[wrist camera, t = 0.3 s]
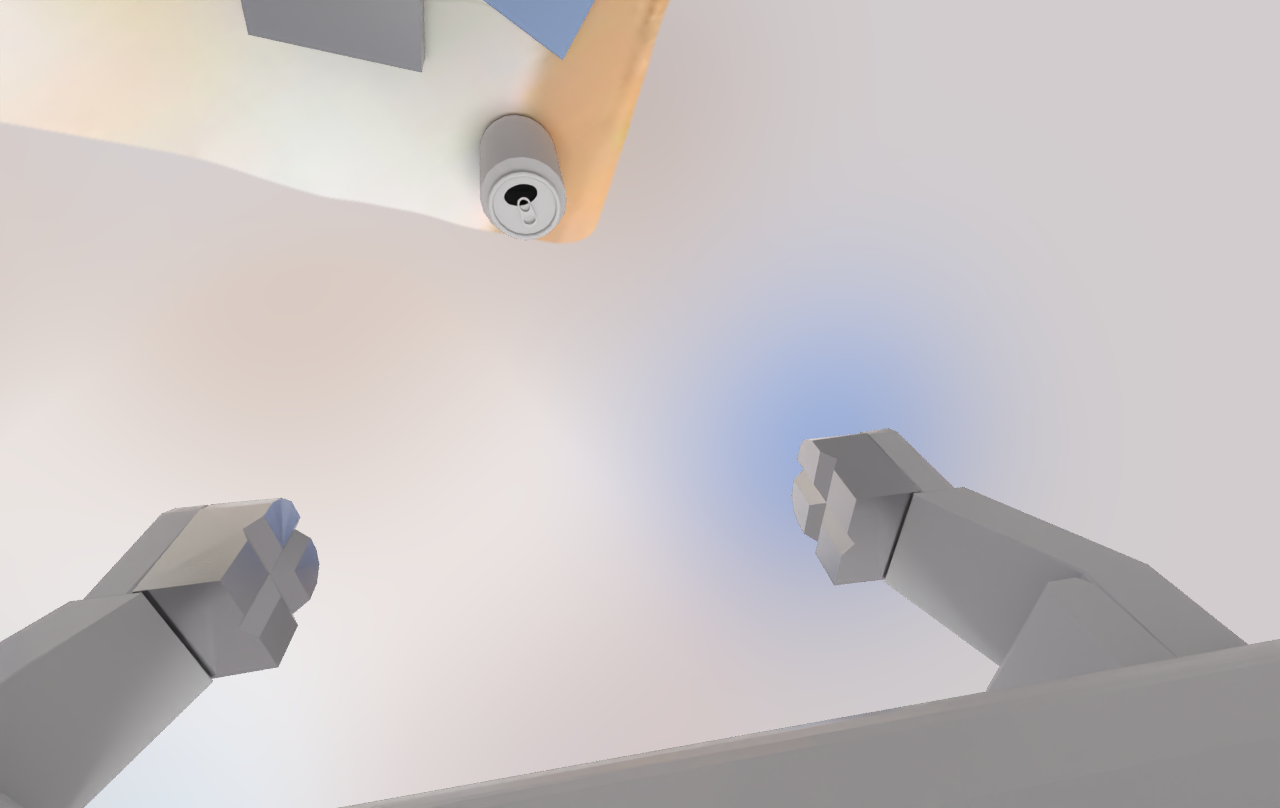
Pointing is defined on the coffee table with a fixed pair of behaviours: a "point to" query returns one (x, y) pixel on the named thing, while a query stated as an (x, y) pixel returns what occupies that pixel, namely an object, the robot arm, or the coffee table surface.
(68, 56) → the coffee table surface
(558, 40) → the mat
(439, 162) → the coffee table surface
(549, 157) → the can
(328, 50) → the grey socket block
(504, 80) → the coffee table surface
